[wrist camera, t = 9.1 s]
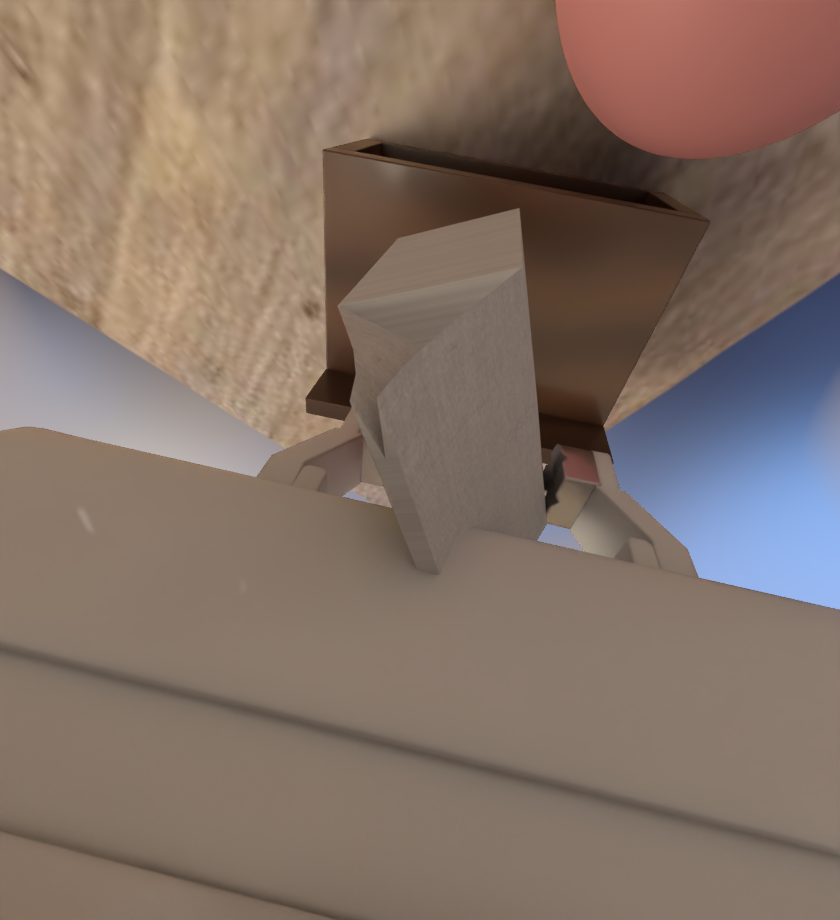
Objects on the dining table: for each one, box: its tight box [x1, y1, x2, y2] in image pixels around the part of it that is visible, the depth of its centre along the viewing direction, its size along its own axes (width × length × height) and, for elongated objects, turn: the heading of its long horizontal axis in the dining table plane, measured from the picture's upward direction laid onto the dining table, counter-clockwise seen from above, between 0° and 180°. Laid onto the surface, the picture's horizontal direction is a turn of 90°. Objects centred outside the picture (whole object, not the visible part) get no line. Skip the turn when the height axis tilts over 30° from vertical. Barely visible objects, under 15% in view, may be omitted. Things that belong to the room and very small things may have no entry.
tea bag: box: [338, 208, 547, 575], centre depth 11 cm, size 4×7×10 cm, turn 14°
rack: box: [306, 139, 710, 464], centre depth 28 cm, size 14×20×13 cm
